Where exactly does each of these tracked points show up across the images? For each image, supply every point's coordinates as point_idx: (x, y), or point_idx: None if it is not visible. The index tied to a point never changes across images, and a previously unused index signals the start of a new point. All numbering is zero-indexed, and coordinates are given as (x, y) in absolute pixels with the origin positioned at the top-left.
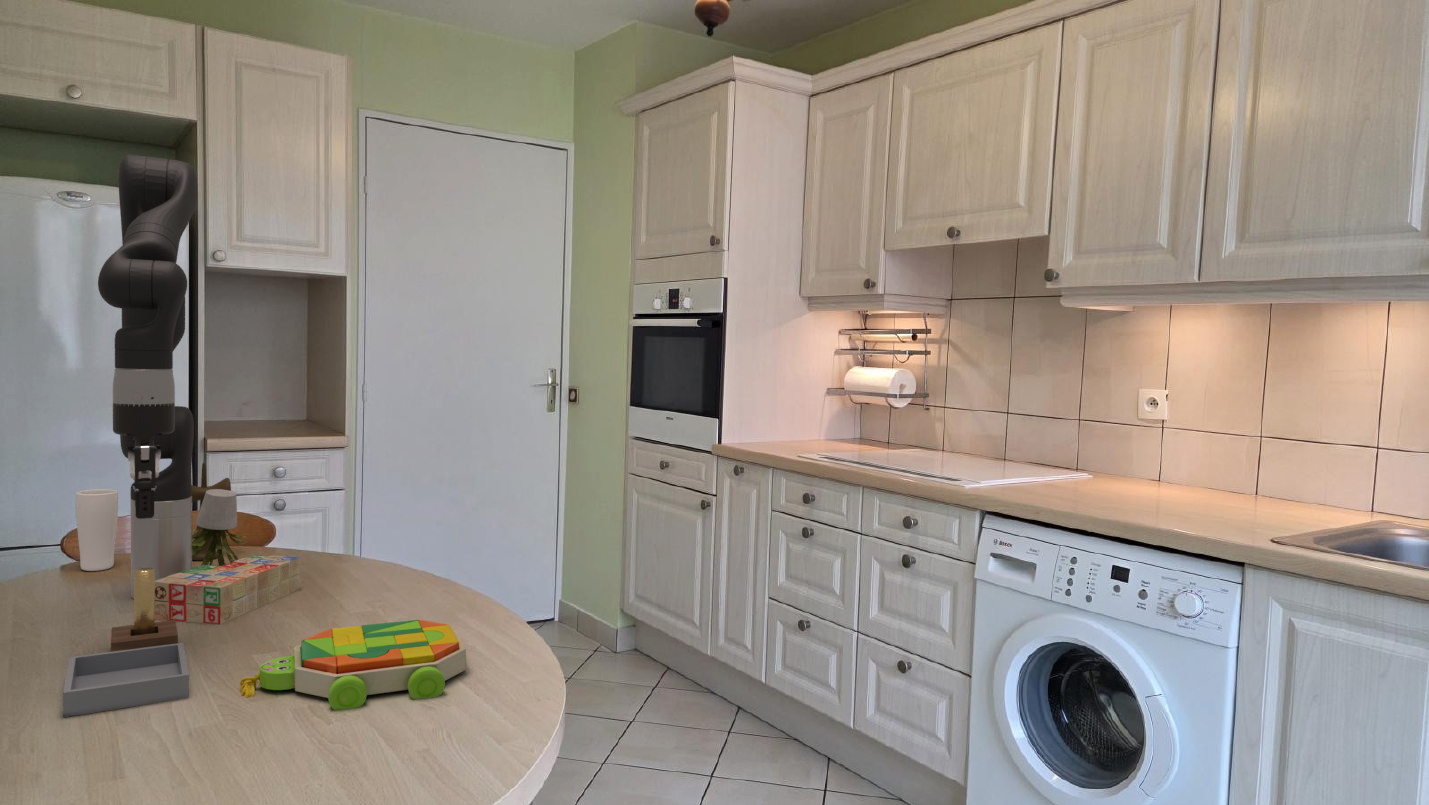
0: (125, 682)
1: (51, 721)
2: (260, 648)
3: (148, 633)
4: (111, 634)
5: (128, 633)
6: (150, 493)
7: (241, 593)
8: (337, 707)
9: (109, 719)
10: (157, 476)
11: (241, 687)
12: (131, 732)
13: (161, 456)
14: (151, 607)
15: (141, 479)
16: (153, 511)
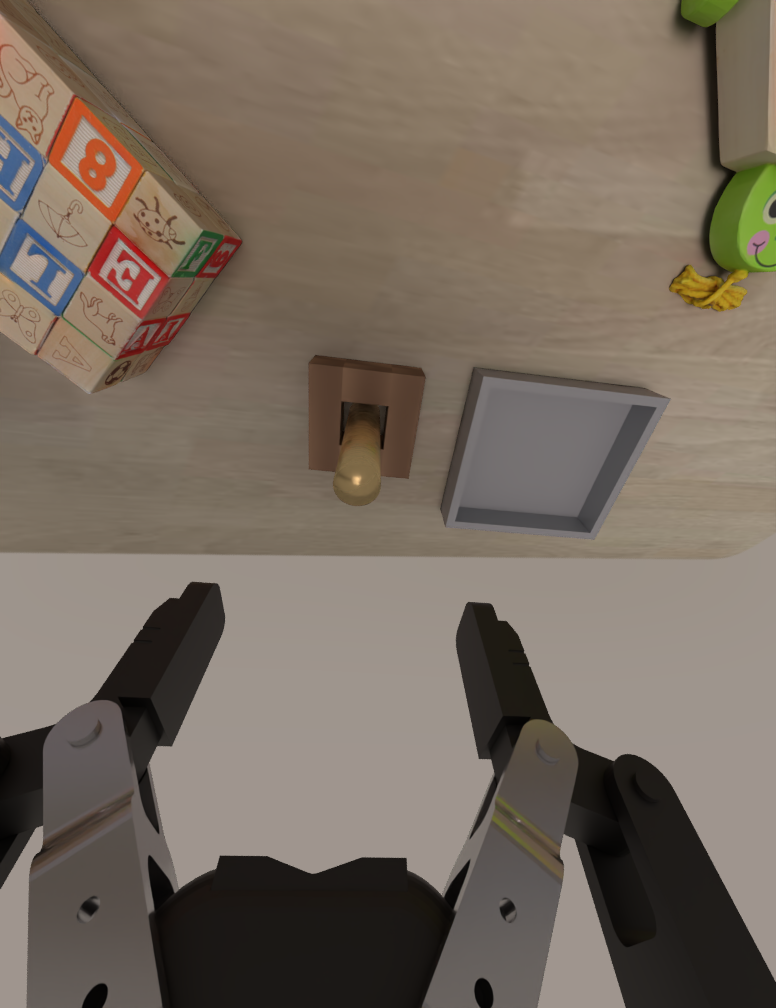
0: (620, 479)
1: None
2: (477, 191)
3: (379, 421)
4: None
5: None
6: (549, 721)
7: (131, 138)
8: None
9: (628, 482)
10: (502, 813)
11: (710, 307)
12: (694, 467)
13: None
14: (376, 434)
15: (141, 760)
16: (497, 621)
